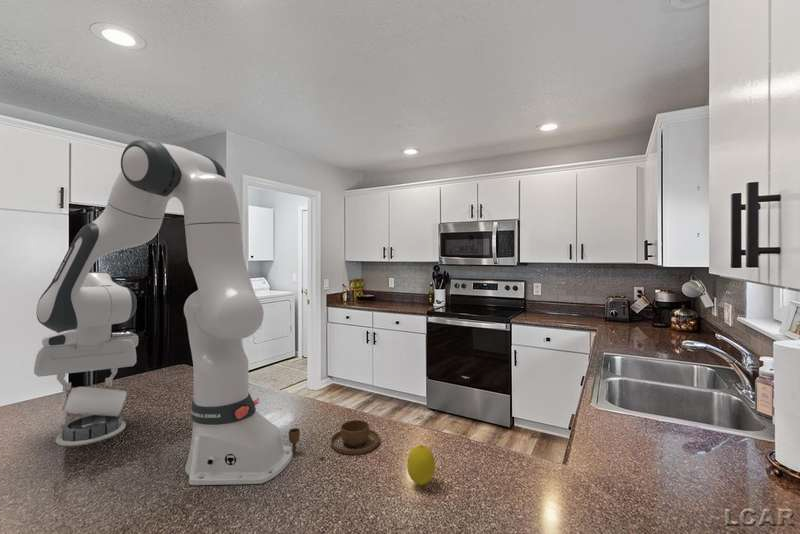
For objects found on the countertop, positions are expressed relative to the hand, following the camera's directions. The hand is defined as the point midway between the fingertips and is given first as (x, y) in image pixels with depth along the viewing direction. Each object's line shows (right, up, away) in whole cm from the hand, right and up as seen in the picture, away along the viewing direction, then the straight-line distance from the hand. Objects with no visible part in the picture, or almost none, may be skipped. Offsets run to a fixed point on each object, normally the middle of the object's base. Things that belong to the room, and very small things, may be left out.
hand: (88, 387), depth 96 cm
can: (+6, -6, +5) cm, 10 cm away
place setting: (+66, -13, -4) cm, 67 cm away
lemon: (+85, -12, -22) cm, 89 cm away
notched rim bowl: (+1, -12, +1) cm, 12 cm away
